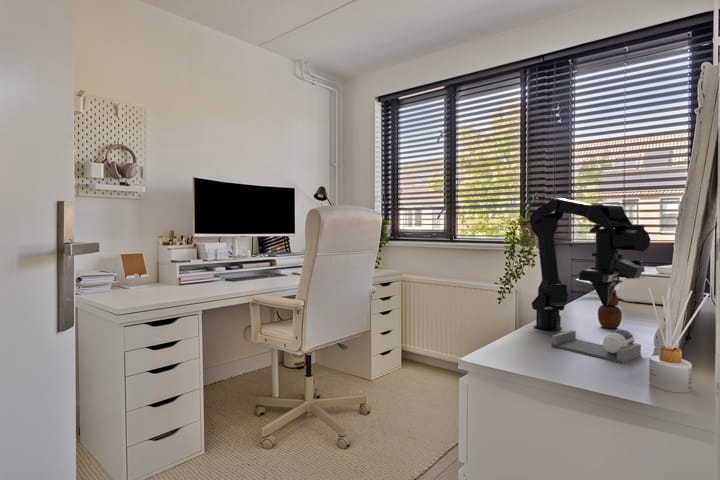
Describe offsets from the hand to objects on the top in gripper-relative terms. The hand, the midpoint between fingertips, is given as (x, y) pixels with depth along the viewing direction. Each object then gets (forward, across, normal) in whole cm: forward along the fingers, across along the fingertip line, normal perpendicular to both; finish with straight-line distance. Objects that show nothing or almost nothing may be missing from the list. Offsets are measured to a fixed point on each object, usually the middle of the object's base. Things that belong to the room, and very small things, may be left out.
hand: (605, 305), depth 113 cm
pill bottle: (+9, +1, -4) cm, 10 cm away
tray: (+12, -6, 0) cm, 13 cm away
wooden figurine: (+12, +26, +10) cm, 31 cm away
